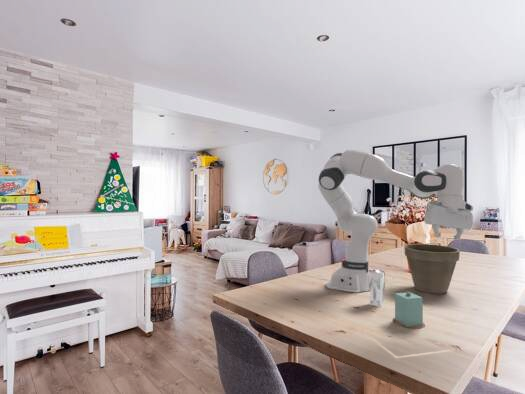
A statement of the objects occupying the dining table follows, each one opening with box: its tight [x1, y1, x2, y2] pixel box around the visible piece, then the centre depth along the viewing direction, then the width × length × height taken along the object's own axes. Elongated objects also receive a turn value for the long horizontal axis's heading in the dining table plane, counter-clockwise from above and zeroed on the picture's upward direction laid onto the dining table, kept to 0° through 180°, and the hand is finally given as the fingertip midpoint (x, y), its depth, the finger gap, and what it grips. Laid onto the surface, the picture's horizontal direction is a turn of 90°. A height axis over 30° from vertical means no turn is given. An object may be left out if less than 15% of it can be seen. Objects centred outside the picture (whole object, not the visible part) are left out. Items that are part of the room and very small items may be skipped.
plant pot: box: [404, 243, 461, 295], centre depth 156 cm, size 25×25×22 cm
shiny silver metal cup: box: [368, 268, 386, 307], centre depth 134 cm, size 7×7×15 cm
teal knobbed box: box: [394, 291, 424, 327], centre depth 114 cm, size 7×7×11 cm
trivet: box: [392, 317, 426, 330], centre depth 113 cm, size 11×11×1 cm
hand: (447, 238), depth 121 cm, fingers open, 8 cm apart
